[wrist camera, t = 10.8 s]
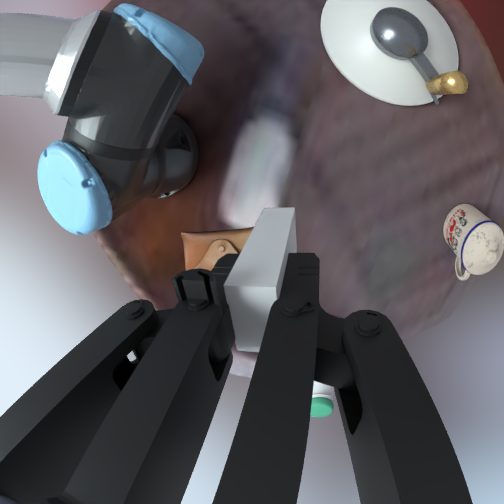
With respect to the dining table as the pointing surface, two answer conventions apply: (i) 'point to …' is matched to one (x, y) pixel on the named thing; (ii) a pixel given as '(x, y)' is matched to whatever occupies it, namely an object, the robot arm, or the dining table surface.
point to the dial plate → (374, 60)
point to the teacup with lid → (473, 240)
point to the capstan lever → (412, 49)
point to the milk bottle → (322, 400)
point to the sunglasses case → (212, 246)
